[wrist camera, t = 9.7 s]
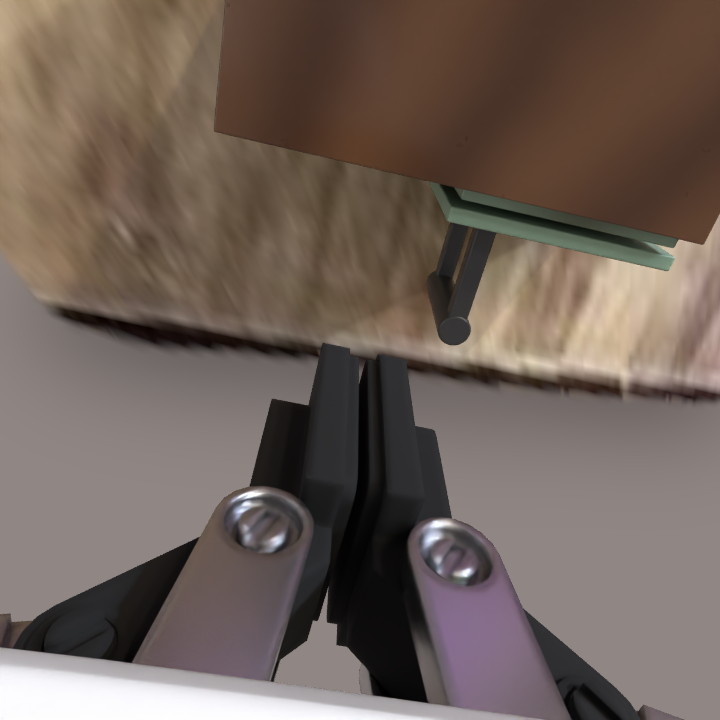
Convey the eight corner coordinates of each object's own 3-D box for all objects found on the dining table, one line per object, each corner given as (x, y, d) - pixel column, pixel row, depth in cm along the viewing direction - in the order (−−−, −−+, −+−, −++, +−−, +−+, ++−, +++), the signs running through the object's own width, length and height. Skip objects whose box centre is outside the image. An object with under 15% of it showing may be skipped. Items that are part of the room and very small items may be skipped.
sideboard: (260, 118, 28) (211, 147, 20) (294, -151, 24) (250, -275, 15) (600, 198, 30) (697, 258, 21) (698, -39, 25) (876, -89, 16)
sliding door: (401, 276, 31) (410, 344, 24) (430, 167, 29) (451, 206, 21) (556, 309, 32) (612, 386, 25) (599, 206, 29) (676, 257, 22)
